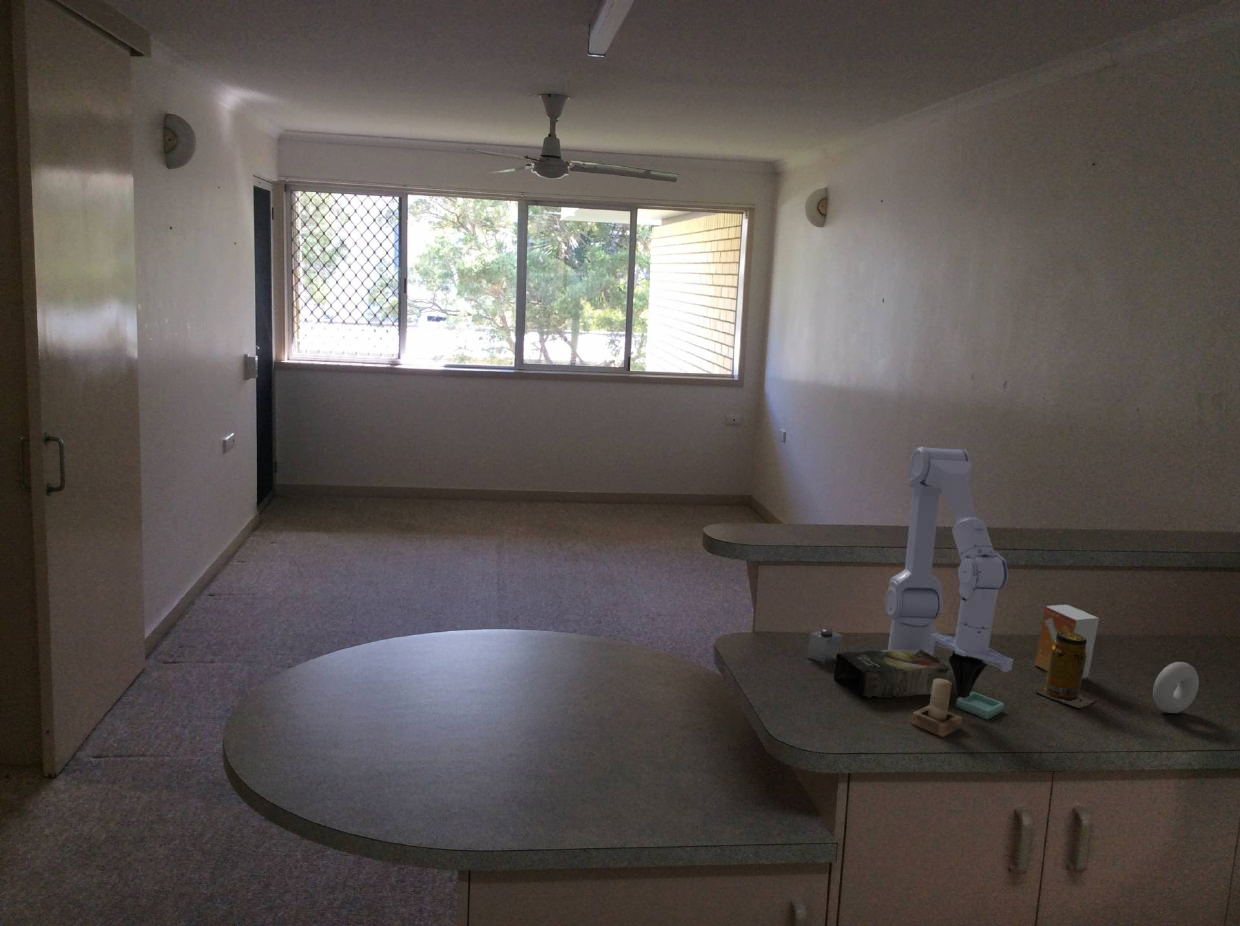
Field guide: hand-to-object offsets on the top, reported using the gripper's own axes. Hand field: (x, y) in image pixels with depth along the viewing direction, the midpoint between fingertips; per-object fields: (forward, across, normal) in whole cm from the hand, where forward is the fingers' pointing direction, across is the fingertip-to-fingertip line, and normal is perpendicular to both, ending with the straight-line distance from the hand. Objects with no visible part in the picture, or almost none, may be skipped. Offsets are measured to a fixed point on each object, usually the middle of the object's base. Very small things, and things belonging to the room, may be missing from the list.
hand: (963, 695), depth 177 cm
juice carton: (+4, -14, 0) cm, 14 cm away
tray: (+3, +1, +5) cm, 6 cm away
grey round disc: (+4, +23, +36) cm, 43 cm away
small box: (+4, +2, +37) cm, 37 cm away
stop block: (+3, -29, 0) cm, 30 cm away
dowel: (+3, 0, -8) cm, 9 cm away
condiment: (+4, +8, +25) cm, 27 cm away
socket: (+3, 0, -8) cm, 9 cm away
